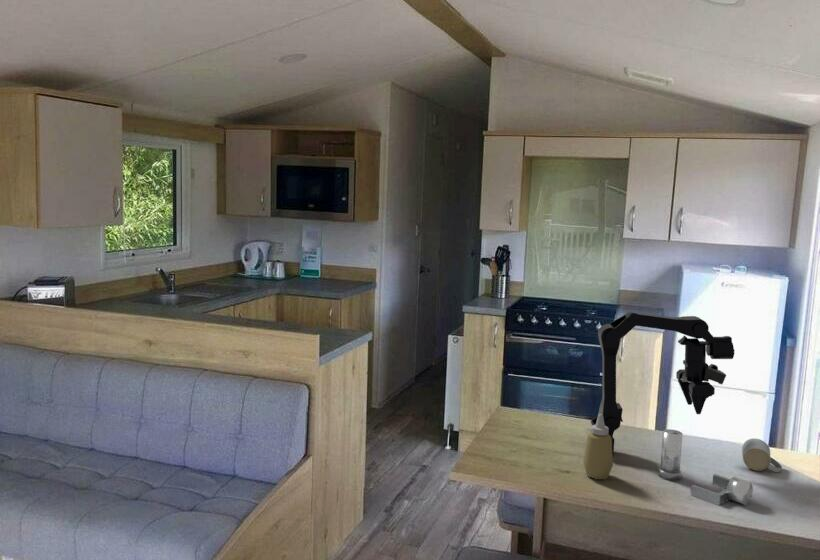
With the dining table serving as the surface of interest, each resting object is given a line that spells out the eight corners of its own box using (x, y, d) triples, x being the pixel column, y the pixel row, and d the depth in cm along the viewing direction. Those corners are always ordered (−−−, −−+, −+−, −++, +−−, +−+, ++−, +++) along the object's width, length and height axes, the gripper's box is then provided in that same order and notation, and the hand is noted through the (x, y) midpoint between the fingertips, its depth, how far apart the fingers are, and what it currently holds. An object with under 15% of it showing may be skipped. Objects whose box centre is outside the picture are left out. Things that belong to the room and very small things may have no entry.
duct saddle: (690, 494, 180) (692, 473, 180) (714, 482, 189) (716, 462, 188) (734, 511, 172) (736, 488, 171) (757, 497, 180) (759, 476, 179)
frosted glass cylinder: (662, 480, 189) (665, 435, 188) (655, 471, 195) (659, 428, 194) (683, 481, 189) (686, 436, 187) (676, 472, 195) (679, 429, 193)
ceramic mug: (741, 469, 198) (744, 444, 197) (740, 460, 206) (743, 435, 205) (782, 477, 194) (785, 451, 193) (779, 466, 201) (782, 442, 200)
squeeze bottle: (596, 484, 186) (600, 421, 184) (576, 473, 193) (579, 412, 191) (618, 479, 190) (622, 417, 187) (597, 468, 197) (601, 408, 194)
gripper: (734, 366, 192) (732, 419, 194) (713, 351, 211) (712, 400, 213) (693, 366, 194) (692, 419, 196) (676, 351, 212) (675, 400, 214)
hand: (694, 409), depth 205 cm, fingers open, 9 cm apart
